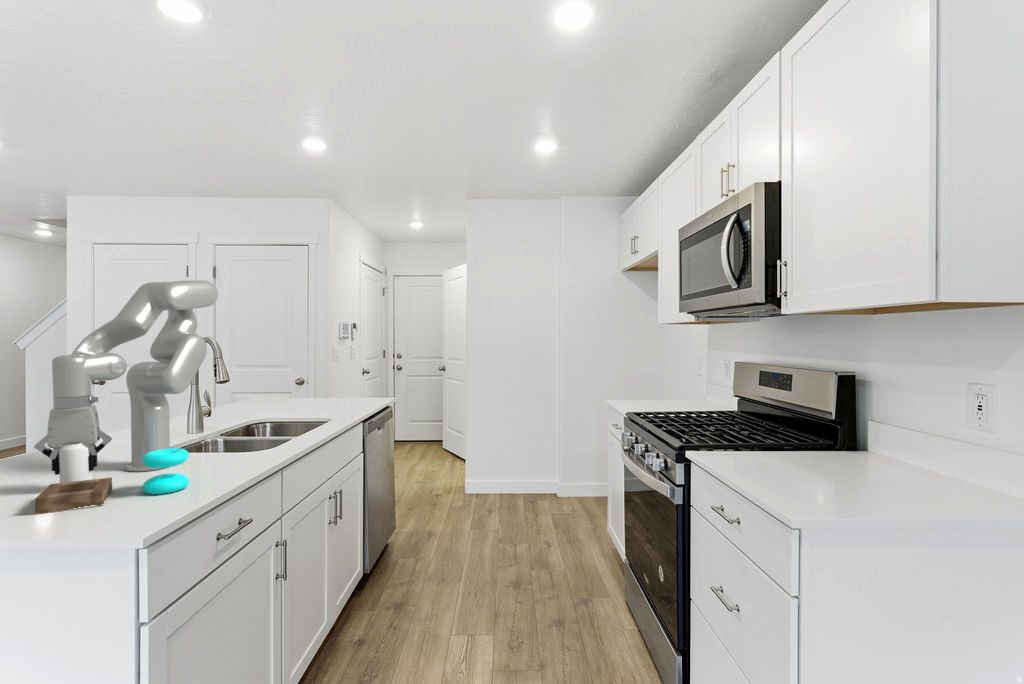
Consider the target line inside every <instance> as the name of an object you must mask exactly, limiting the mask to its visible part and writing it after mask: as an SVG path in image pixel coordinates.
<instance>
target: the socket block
mask: <svg viewBox="0 0 1024 684" xmlns="http://www.w3.org/2000/svg"><path fill="white" fill-rule="evenodd" d="M111 491H112V492H113V477H105V478H103V477H102V478H96V479H95V478H94V479H93V478H92V480H84V481H75V482H66V483H60V482H58V483H57V482H56V483H51V484H49V485H48V486H47V487H46V488H45V489H44V490H43V491H42V492H40V494H38V495H37V496H36V497H35V498H34V515H41V514H48V512H50V513H56V512H55V511H58V512H63V511H62V510H66V511H69V510H68V509H73V508H78V507H84V506H91V505H101V504H103V503H104V501H105V500H106V498H107V497H108V495H109V494H110V495H111V493H112V492H111ZM110 495H109V496H110ZM108 498H109V497H108ZM108 498H107V499H108ZM106 501H107V500H106ZM106 501H105V502H106ZM104 504H105V503H104ZM104 504H103V505H104ZM73 510H74V509H73Z"/></svg>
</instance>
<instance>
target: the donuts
mask: <svg viewBox="0 0 1024 684" xmlns="http://www.w3.org/2000/svg"><path fill="white" fill-rule="evenodd" d="M189 456H190V455H189V451H187V450H186V449H185V448H178V447H177V448H175V447H173V448H172V447H170V449H161V450H156V451H152V452H149V453H147V454H145V455H144V456H143V458H142V462H143V464H144V465H146V466H148V467H151V468H162V469H165V468H166V469H167V468H172V467H175V466H178V465H181V464H184V463H185V462H186V461H187V460H188V459H189ZM189 483H190V481H189V477H188V476H187V475H184V474H183V473H182V474H181V473H176V472H174V473H171V472H170V473H162V474H158V475H155V476H152V477H150V478H148V479H147V480H145V481H144V483H143V485H142V491H143V492H144V493H146V494H148V495H154V494H158V495H165V494H164V493H168V494H171V493H170V492H173V493H176V492H175V491H177V492H179V491H178V490H180V491H182V490H184V489H186V488H187V487H188V486H189ZM185 487H186V488H185ZM183 488H184V489H183ZM181 489H182V490H181Z"/></svg>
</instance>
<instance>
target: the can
mask: <svg viewBox="0 0 1024 684" xmlns="http://www.w3.org/2000/svg"><path fill="white" fill-rule="evenodd" d="M89 456H90V452H89V450H88V447H87V446H85V445H82V442H81V443H74V444H64V446H63V447H62V448H60V449H59V474H58V475H59V483H66V482H75V481H84V480H93V471H89V458H88V457H89Z"/></svg>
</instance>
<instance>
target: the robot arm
mask: <svg viewBox="0 0 1024 684" xmlns="http://www.w3.org/2000/svg"><path fill="white" fill-rule="evenodd" d="M218 297H219V292H218V289H217V286H215V285H214V283H212V282H211V281H208V280H175V281H156V282H155V281H151V282H145V283H143V284H142V285H140V286H139V287H138V288H137V289H136V291H135V292H134V293H133V294H132V296H131V297H130V298H129V300H128V301H127V302H126V304H124V306H123V307H122V308H121V310H119V311H120V312H119V313H118V314H117V315H116V316H115V317H114V318H113V319H111V320H109V321H107V322H106V323H104V324H103V325H101V326H100V327H98V328H96V329H95V330H94V331H92V332H91V333H89V334H88V335H87V336H85V337H84V338H83V339H82V340H81V341H80V342H79V344H78V345H77V346H76V347H75V349H74V350H73V351H72V353H71V354H67V355H66V354H65V355H64V354H63V355H57V356H55V357H54V358H53V359H52V361H51V373H52V394H53V395H52V397H53V401H52V402H53V403H52V404H53V408H51V409H50V411H49V416H48V421H47V434H46V435H45V436H44V437H42V438H41V439H40V440H39V441H38V442H36V444H35V445H34V446H33V447H34V448H35V450H37V451H38V452H41V453H42V454H43V455H44V456H46V457H48V458H49V460H51V470H52V472H54V475H55V476H58V475H60V474H59V449H60V448H62V447H63V446H64V444H74V443H81V442H82V445H85V446H87V447H88V450H89V452H90V456H89V457H88V458H89V471H92V472H93V471H94V470H95V468H96V467H97V466H98V453H99V452H101V450H102V449H104V448H105V447H106V446H107V445H108V444H109V443H110V442H111V441H112V439H113V438H112V436H110V435H109V434H107V433H106V432H104V431H102V430H101V429H100V428H101V427H100V419H99V413H98V410H97V407H96V405H93V404H95V403H99V397H98V396H93V394H92V383H91V382H92V381H114V380H117V379H118V378H120V377H122V376H123V375H124V374H125V372H126V371H127V367H128V366H127V365H128V364H127V362H126V359H125V358H124V356H123V357H122V356H121V355H119V354H117V353H114V352H110V351H112V350H113V349H115V348H116V347H118V346H120V345H123V344H126V343H128V342H131V341H134V340H137V339H139V338H141V337H143V336H145V335H146V334H147V333H148V332H149V330H150V329H151V328H152V326H153V325H154V324H155V323H156V321H157V319H158V318H159V316H161V314H162V313H163V312H164V311H167V316H168V317H167V319H166V321H165V323H164V324H163V326H162V327H161V329H160V331H159V332H158V334H157V336H156V337H155V339H154V340H153V342H152V344H151V346H150V350H149V353H150V357H151V358H152V359H153V360H154V361H142V362H138V363H136V364H134V365H133V366H131V367H130V368H129V369H128V371H127V374H126V376H125V377H126V378H125V381H126V387H127V390H128V396H129V399H130V429H131V430H130V434H131V436H130V437H131V438H130V439H131V441H130V442H131V443H130V444H131V445H130V446H131V448H130V449H131V451H130V454H131V462H127V463H126V464H125V465H124V470H125V471H129V472H146V471H148V472H149V471H150V472H151V471H157V470H162V469H163V468H151V467H148V466H146V465H144V464H143V462H142V458H143V456H144V455H145V454H147V453H149V452H152V451H156V450H161V449H170V448H171V447H170V446H171V444H170V443H171V441H170V433H171V432H170V404H169V401H168V399H167V396H166V395H178V394H181V393H182V394H183V392H185V391H186V390H187V389H188V388H189V387H190V385H191V384H192V381H193V380H194V379H195V376H196V375H197V373H198V371H199V369H200V367H201V366H202V365H203V363H204V361H205V359H206V355H207V352H208V351H207V349H208V347H207V343H206V340H205V339H204V337H202V336H201V335H199V334H197V333H196V332H197V331H196V330H197V328H198V320H197V318H196V317H197V316H196V315H195V312H194V310H193V309H195V310H196V309H202V308H209V307H210V306H213V305H214V304H215V303H216V302H217V301H218ZM100 439H101V440H102V442H101V443H99V444H96V443H98V441H99V440H100ZM45 444H46V445H47V446H48V447H49V448H48V447H47V446H46V445H45Z"/></svg>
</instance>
